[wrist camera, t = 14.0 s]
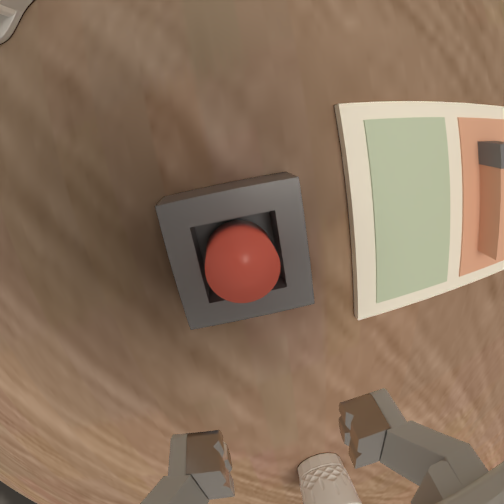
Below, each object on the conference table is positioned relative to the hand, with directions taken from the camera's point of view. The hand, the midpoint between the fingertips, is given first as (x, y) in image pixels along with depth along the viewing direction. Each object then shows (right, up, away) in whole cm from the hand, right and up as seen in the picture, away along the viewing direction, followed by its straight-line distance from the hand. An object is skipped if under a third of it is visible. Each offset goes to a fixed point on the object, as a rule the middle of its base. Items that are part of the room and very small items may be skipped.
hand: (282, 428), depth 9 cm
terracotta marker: (+25, +12, +18) cm, 33 cm away
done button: (-2, +5, +16) cm, 17 cm away
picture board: (+19, +11, +19) cm, 29 cm away
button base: (-2, +6, +18) cm, 19 cm away
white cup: (+9, -27, +31) cm, 42 cm away
